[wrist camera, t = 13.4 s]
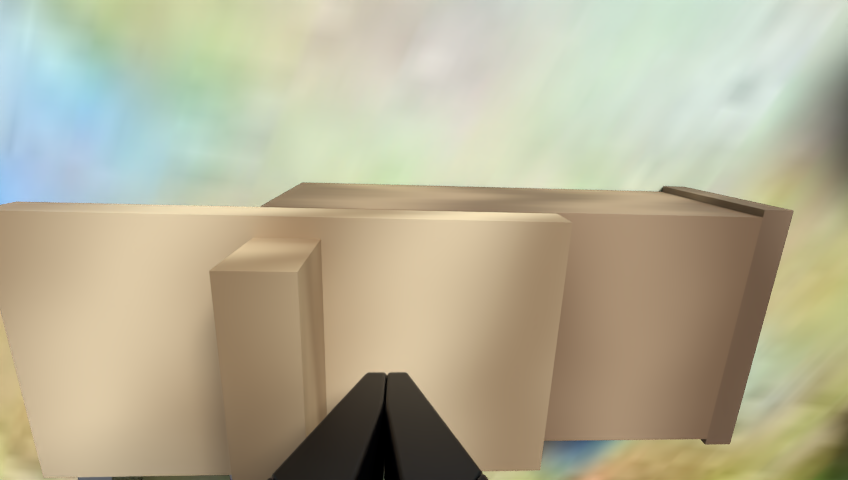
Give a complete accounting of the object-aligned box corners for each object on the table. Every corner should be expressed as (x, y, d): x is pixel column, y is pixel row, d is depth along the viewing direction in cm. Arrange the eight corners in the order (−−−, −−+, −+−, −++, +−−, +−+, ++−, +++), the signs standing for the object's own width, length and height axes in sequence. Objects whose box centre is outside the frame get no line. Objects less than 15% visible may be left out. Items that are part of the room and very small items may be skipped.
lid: (557, 213, 11) (621, 250, 7) (529, 443, 12) (571, 548, 9) (16, 201, 10) (-162, 236, 7) (73, 448, 12) (-46, 565, 9)
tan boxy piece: (684, 186, 15) (793, 210, 11) (648, 365, 17) (730, 444, 13) (301, 176, 14) (260, 198, 10) (310, 365, 16) (278, 449, 12)
